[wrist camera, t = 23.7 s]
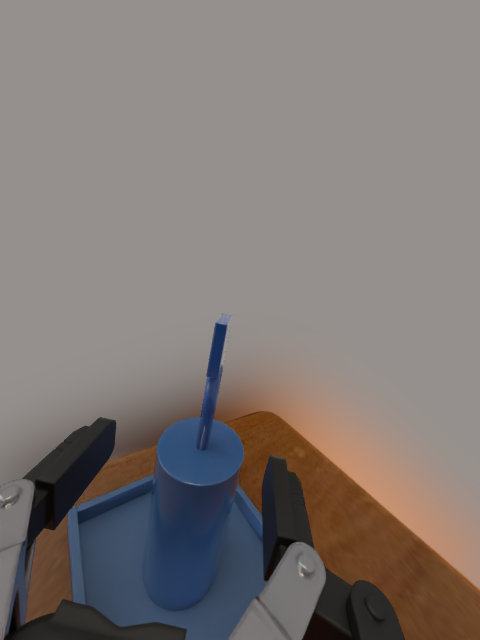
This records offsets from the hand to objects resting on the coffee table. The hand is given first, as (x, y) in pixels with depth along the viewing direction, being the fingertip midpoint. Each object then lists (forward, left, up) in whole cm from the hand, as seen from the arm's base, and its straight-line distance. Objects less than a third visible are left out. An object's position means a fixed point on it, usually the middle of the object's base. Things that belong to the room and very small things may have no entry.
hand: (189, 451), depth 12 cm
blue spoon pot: (-1, +4, -14) cm, 15 cm away
